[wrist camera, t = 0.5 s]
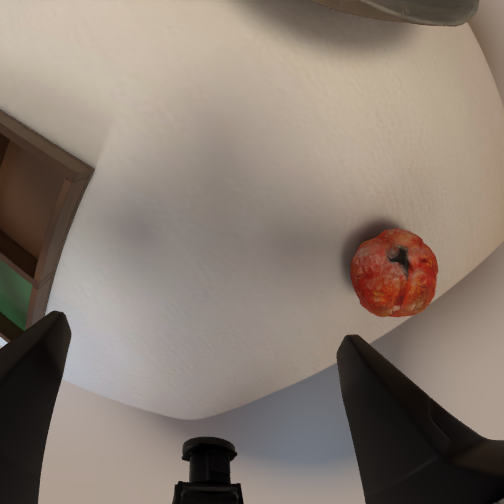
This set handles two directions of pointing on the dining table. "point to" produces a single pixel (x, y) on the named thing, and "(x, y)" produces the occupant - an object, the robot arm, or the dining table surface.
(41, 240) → the four compartment tray
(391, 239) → the red round fruit
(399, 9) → the bowl
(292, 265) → the dining table surface
